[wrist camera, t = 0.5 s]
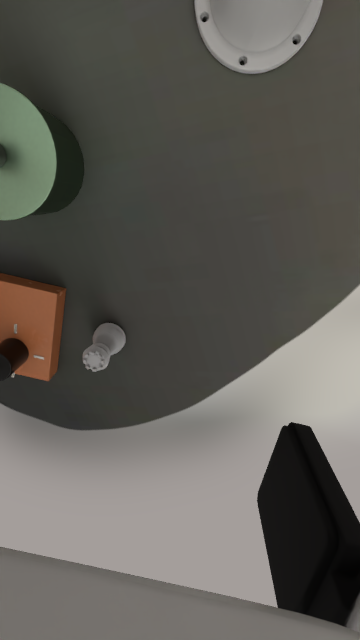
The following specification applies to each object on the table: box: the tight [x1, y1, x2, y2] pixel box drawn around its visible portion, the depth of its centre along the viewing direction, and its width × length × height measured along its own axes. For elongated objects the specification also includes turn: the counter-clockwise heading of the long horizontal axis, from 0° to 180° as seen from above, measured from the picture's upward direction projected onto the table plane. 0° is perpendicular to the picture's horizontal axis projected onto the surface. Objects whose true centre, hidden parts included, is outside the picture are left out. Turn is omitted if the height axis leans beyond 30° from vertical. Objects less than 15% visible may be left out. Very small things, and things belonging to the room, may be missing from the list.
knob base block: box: [0, 273, 66, 381], centre depth 46 cm, size 14×10×3 cm
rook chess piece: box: [83, 323, 126, 371], centre depth 43 cm, size 4×4×8 cm
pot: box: [31, 105, 84, 215], centre depth 36 cm, size 11×11×8 cm
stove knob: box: [0, 338, 29, 381], centre depth 43 cm, size 4×4×5 cm
